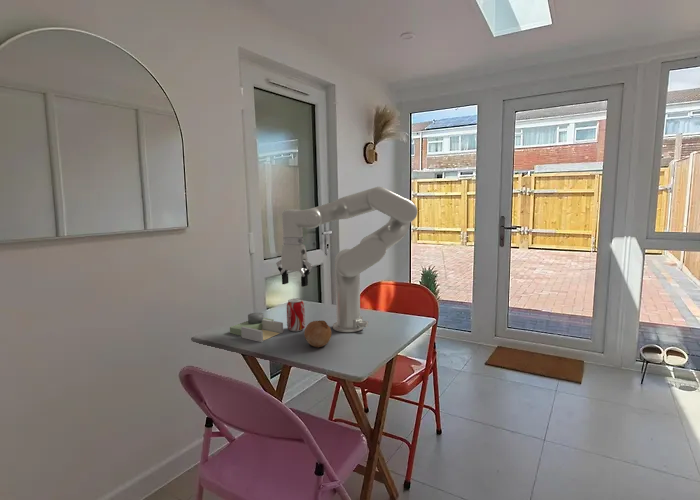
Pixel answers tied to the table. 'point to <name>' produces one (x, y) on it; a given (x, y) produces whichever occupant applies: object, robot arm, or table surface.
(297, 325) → the soda can
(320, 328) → the onion
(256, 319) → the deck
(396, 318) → the table surface
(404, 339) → the table surface
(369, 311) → the table surface
